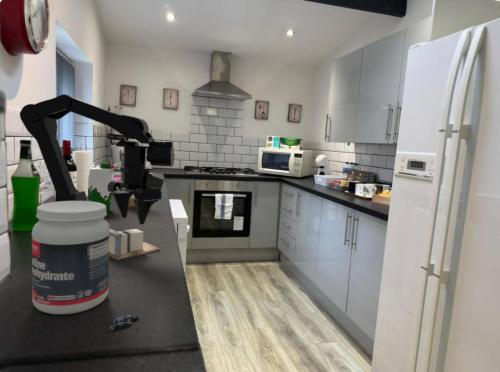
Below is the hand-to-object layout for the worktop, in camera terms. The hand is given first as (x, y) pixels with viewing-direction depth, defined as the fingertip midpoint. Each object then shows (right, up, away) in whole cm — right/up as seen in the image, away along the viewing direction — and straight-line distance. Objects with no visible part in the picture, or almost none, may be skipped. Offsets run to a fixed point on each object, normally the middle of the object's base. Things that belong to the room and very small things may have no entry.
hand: (132, 220), depth 95 cm
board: (-1, -9, +1) cm, 9 cm away
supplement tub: (-1, -12, -30) cm, 32 cm away
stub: (0, -8, +1) cm, 8 cm away
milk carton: (-31, -1, +49) cm, 58 cm away
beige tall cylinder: (-24, 0, +63) cm, 67 cm away
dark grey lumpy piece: (+11, -15, -37) cm, 41 cm away
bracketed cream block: (-4, -8, -3) cm, 9 cm away
